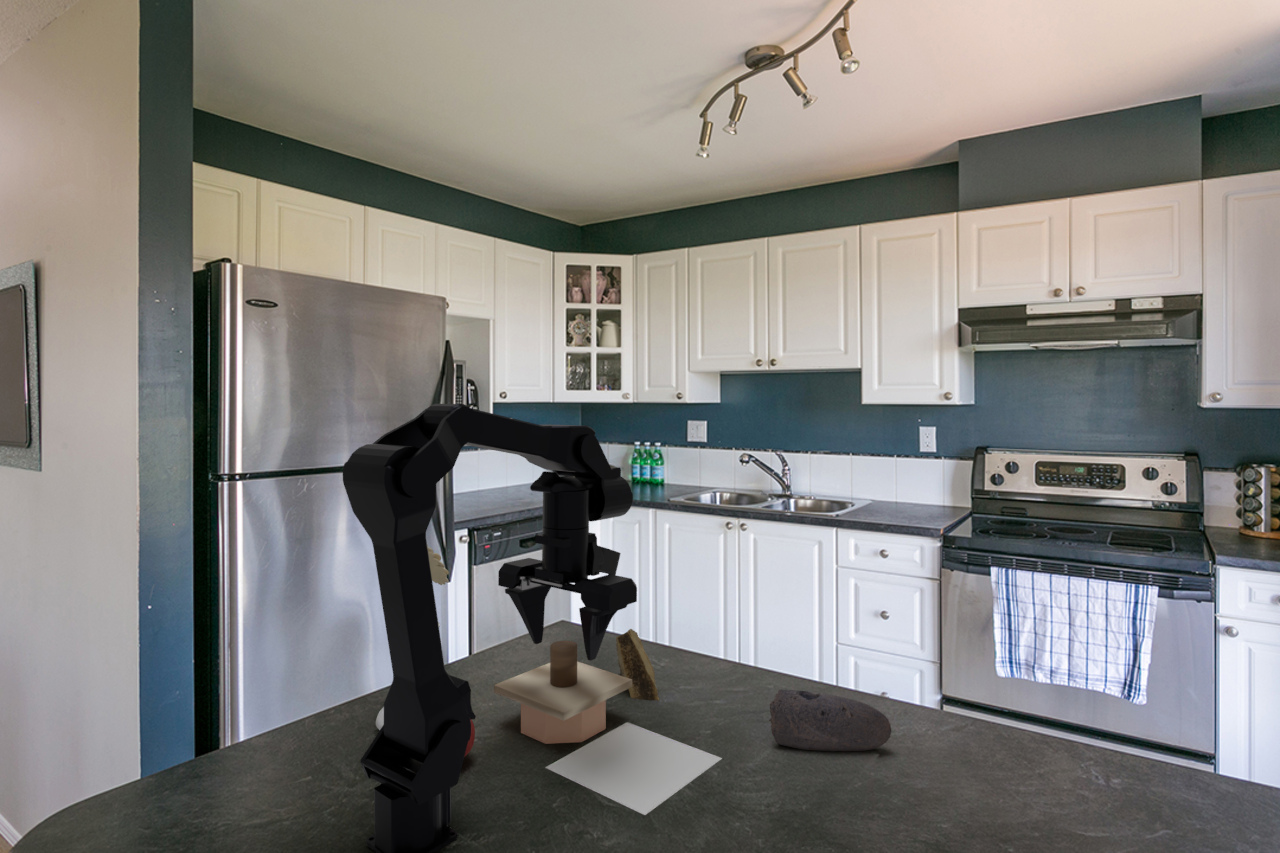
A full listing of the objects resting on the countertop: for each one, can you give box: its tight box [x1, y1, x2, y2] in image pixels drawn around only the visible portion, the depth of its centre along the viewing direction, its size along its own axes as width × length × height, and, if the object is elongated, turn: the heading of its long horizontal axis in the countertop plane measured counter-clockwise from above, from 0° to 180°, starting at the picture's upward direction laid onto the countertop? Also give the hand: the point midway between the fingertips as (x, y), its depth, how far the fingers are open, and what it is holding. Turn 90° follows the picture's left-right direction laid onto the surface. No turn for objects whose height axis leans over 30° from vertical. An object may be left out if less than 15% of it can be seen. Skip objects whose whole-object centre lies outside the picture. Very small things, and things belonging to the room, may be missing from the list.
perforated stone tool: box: [768, 689, 892, 752], centre depth 89 cm, size 15×5×7 cm, turn 81°
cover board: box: [493, 640, 632, 721], centre depth 94 cm, size 13×13×6 cm
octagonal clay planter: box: [520, 700, 607, 745], centre depth 94 cm, size 11×11×5 cm
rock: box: [615, 628, 660, 701], centre depth 107 cm, size 11×9×10 cm
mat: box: [544, 721, 723, 816], centre depth 84 cm, size 15×15×1 cm
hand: (564, 651), depth 88 cm, fingers open, 9 cm apart
